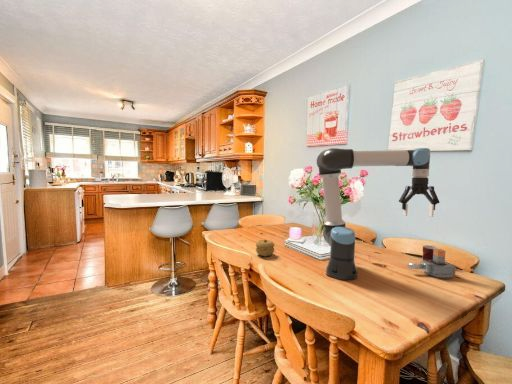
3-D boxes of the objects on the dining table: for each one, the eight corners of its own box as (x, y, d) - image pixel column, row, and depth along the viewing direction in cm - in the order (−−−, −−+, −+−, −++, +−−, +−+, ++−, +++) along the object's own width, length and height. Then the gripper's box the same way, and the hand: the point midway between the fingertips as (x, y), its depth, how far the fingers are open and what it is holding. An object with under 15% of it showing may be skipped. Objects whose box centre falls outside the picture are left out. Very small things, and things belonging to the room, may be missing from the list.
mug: (432, 268, 139) (433, 251, 138) (416, 264, 146) (417, 247, 145) (441, 265, 145) (442, 248, 144) (426, 261, 151) (427, 244, 151)
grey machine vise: (415, 278, 127) (415, 266, 126) (402, 269, 138) (403, 258, 138) (458, 279, 125) (459, 267, 125) (442, 270, 137) (442, 259, 137)
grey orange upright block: (436, 271, 130) (438, 250, 129) (432, 269, 133) (433, 248, 132) (444, 272, 130) (445, 250, 129) (439, 269, 133) (440, 248, 132)
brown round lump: (273, 252, 166) (273, 237, 165) (275, 258, 154) (275, 242, 153) (255, 252, 166) (255, 237, 165) (255, 258, 154) (256, 241, 153)
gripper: (400, 177, 135) (397, 216, 137) (449, 177, 134) (446, 217, 135) (393, 176, 143) (391, 214, 144) (439, 177, 141) (437, 215, 143)
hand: (418, 215), depth 140 cm, fingers open, 13 cm apart
